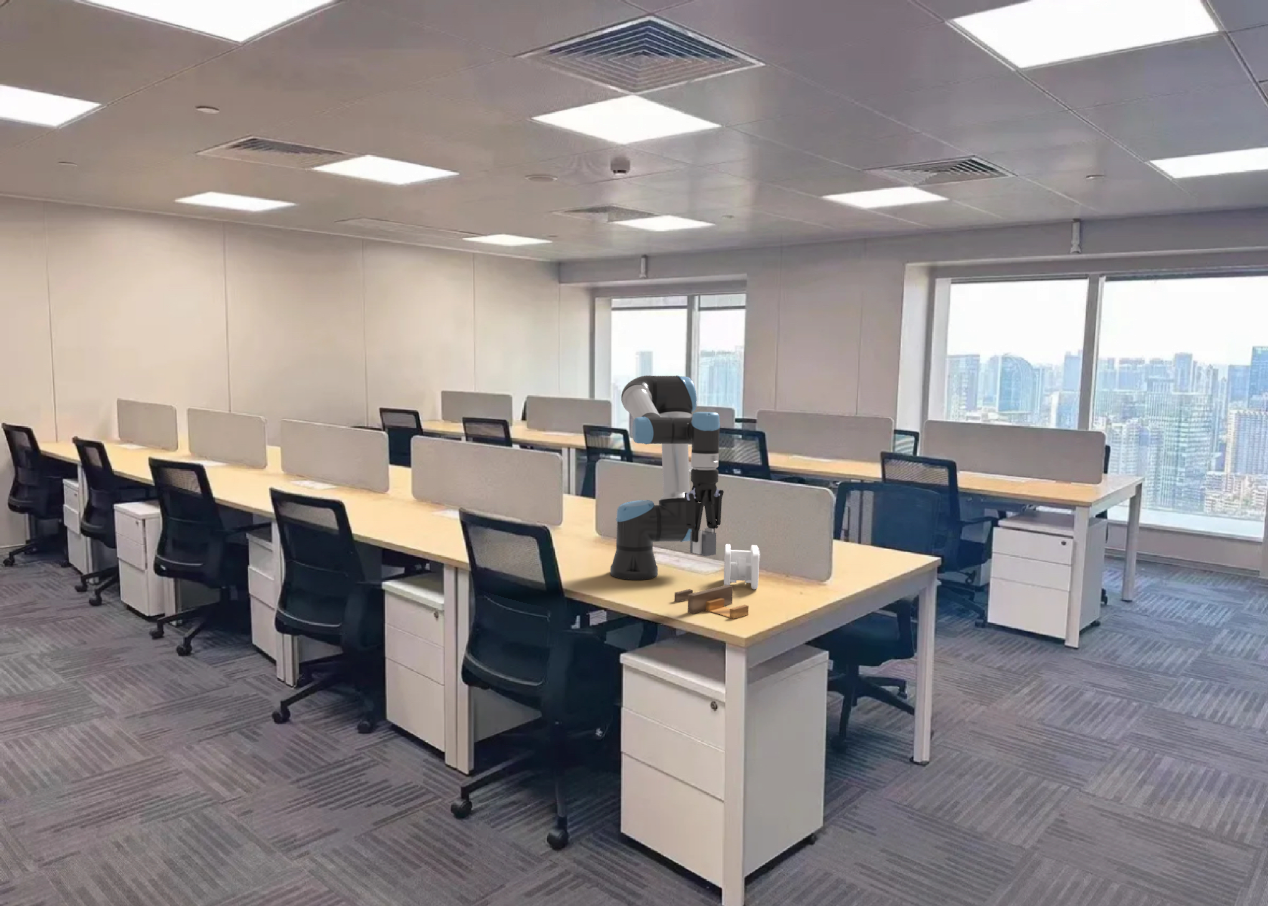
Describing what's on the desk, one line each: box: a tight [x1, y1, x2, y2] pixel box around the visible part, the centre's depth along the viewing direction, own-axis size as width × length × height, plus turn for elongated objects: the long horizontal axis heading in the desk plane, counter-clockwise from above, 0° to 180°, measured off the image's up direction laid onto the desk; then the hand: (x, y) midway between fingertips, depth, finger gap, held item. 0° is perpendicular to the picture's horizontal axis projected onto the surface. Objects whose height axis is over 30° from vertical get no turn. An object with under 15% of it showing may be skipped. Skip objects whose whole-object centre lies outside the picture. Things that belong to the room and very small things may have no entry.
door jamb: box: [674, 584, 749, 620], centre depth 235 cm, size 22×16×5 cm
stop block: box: [689, 529, 717, 557], centre depth 235 cm, size 6×4×6 cm, turn 42°
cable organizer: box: [723, 543, 761, 590], centre depth 260 cm, size 15×11×12 cm
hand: (702, 552), depth 236 cm, fingers closed on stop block, 4 cm apart
